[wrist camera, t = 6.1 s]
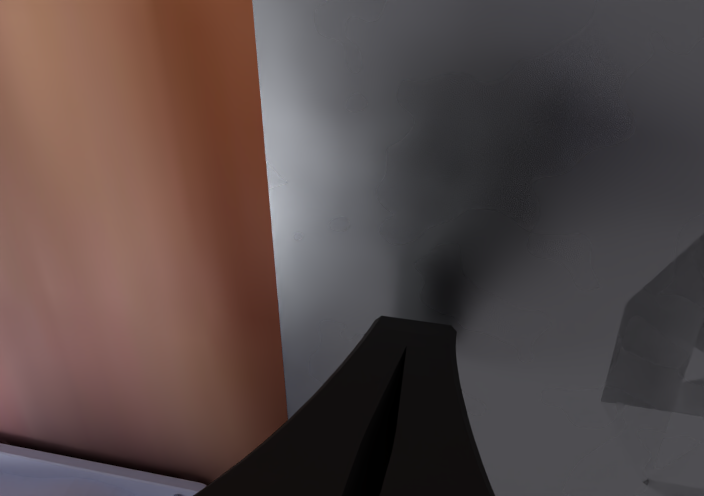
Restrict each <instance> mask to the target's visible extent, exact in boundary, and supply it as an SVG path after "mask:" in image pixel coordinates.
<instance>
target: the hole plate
mask: <svg viewBox="0 0 704 496" xmlns="http://www.w3.org/2000/svg"><path fill="white" fill-rule="evenodd" d="M252 1H253V13H254V25H255V36H256V48H257V60H258V71H259V83H260V95H261V107H262V118H263V130H264V142H265V154H266V165H267V177H268V189H269V200H270V212H271V224H272V236H273V247H274V259H275V271H276V282H277V294H278V306H279V318H280V329H281V341H282V353H283V364H284V376H285V388H286V400H287V411H288V419H289V418H290V417H291V416H293V415H294V414H295V413H296V412H297V411H298V410H299V409H300V408H301V407H302V406H303V405H304V404H305V403H306V402H307V401H308V400H309V399H310V398H311V397H312V396H313V395H314V394H315V393H316V392H317V391H318V389H319V388H320V387H321V386H322V385H323V384H324V383H325V382H326V381H327V379H328V378H329V377H330V376H331V375H332V374H333V373H334V372H335V370H336V369H337V368H338V367H339V366H340V365H341V364H342V363H343V361H344V360H345V359H346V358H347V356H348V355H349V354H350V353H351V352H352V350H353V349H354V348H355V347H356V345H357V344H358V343H359V342H360V340H361V339H362V338H363V336H364V335H365V333H366V332H367V331H368V329H369V328H370V327H371V325H372V324H373V322H374V321H375V320H376V319H377V318H379V317H380V316H388V317H395V318H403V319H410V320H417V321H424V322H431V323H439V324H446V325H451V326H452V327H453V328H454V329H455V330H456V331H457V335H456V358H457V366H458V373H459V379H460V384H461V389H462V394H463V398H464V402H465V406H466V410H467V414H468V418H469V422H470V425H471V429H472V432H473V435H474V439H475V442H476V445H477V448H478V451H479V454H480V457H481V460H482V463H483V465H484V468H485V471H486V474H487V476H488V479H489V482H490V484H491V487H492V489H493V492H494V494H495V496H704V0H252Z"/></svg>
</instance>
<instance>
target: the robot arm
mask: <svg viewBox="0 0 704 496" xmlns="http://www.w3.org/2000/svg"><path fill="white" fill-rule="evenodd" d="M456 335H457V331H456V330H455V329H454V328H453V327H452V326H451V325H446V324H439V323H431V322H424V321H417V320H410V319H403V318H395V317H388V316H380V317H379V318H377V319H376V320H375V321H374V322H373V324H372V325H371V327H370V328H369V329H368V331H367V332H366V333H365V335H364V336H363V338H362V339H361V340H360V342H359V343H358V344H357V345H356V347H355V348H354V349H353V350H352V352H351V353H350V354H349V355H348V356H347V358H346V359H345V360H344V361H343V363H342V364H341V365H340V366H339V367H338V368H337V369H336V370H335V372H334V373H333V374H332V375H331V376H330V377H329V378H328V379H327V381H326V382H325V383H324V384H323V385H322V386H321V387H320V388H319V389H318V391H317V392H316V393H315V394H314V395H313V396H312V397H311V398H310V399H309V400H308V401H307V402H306V403H305V404H304V405H303V406H302V407H301V408H300V409H299V410H298V411H297V412H296V413H295V414H294V415H293V416H291V417H290V418H289V419H288V420H287V421H286V422H285V423H284V424H283V425H282V426H281V427H280V428H279V429H278V430H277V431H276V432H274V433H273V434H272V435H271V436H270V437H269V438H268V439H266V440H265V441H264V442H263V443H262V444H261V445H259V446H258V447H257V448H256V449H255V450H253V451H252V452H251V453H250V454H249V455H247V456H246V457H245V458H244V459H242V460H241V461H240V462H239V463H237V464H236V465H235V466H233V467H232V468H231V469H229V470H228V471H226V472H225V473H224V474H222V475H221V476H220V477H218V478H217V479H216V480H214V481H213V482H212V483H210V484H209V485H208V486H207V485H205V484H202V483H199V482H195V481H189V480H184V479H179V478H174V477H169V476H164V475H159V474H154V473H149V472H144V471H139V470H134V469H129V468H124V467H119V466H114V465H109V464H103V463H98V462H93V461H88V460H83V459H78V458H73V457H68V456H63V455H58V454H53V453H48V452H43V451H38V450H33V449H28V448H23V447H18V446H12V445H7V444H2V443H0V496H495V494H494V492H493V489H492V487H491V484H490V482H489V479H488V476H487V474H486V471H485V468H484V465H483V463H482V460H481V457H480V454H479V451H478V448H477V445H476V442H475V439H474V435H473V432H472V429H471V425H470V422H469V418H468V414H467V410H466V406H465V402H464V398H463V394H462V389H461V384H460V379H459V373H458V366H457V358H456Z"/></svg>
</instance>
